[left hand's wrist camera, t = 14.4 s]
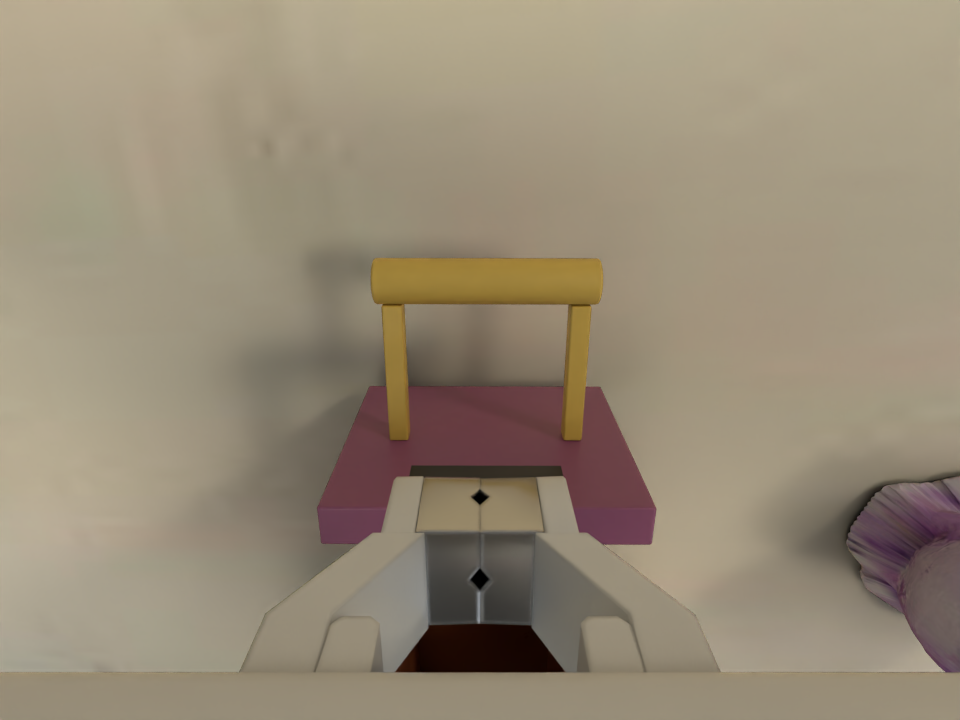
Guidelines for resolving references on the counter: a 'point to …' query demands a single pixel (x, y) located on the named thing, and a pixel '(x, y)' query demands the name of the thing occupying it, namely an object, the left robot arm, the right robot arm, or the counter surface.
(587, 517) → the drawer
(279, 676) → the left robot arm
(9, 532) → the counter surface
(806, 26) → the counter surface
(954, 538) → the figurine
